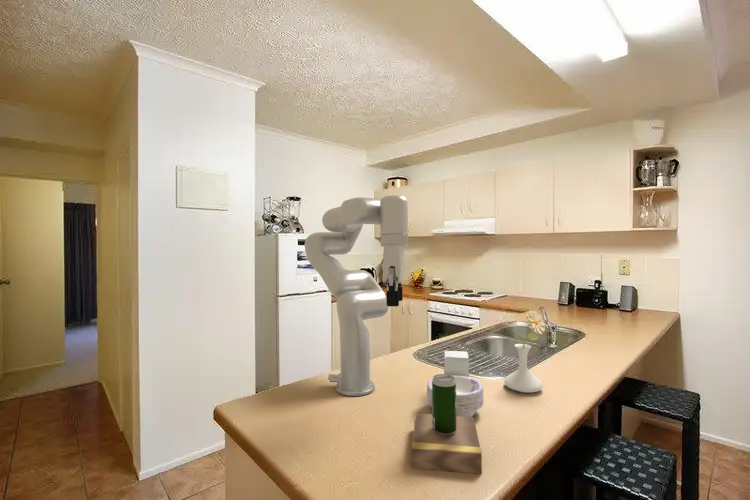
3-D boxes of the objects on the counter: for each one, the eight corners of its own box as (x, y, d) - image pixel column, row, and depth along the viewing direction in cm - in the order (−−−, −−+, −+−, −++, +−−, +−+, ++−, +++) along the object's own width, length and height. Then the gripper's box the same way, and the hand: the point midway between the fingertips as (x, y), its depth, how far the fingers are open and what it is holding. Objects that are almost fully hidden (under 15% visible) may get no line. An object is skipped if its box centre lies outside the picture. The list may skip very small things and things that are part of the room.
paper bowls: (424, 400, 107) (424, 373, 107) (475, 400, 107) (475, 373, 107) (430, 425, 92) (430, 394, 92) (490, 426, 91) (490, 394, 91)
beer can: (437, 438, 78) (437, 383, 78) (428, 426, 83) (428, 374, 83) (460, 435, 79) (460, 380, 79) (450, 423, 85) (450, 372, 85)
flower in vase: (517, 397, 108) (517, 314, 108) (497, 383, 119) (496, 308, 119) (555, 393, 111) (555, 312, 111) (532, 380, 122) (531, 306, 122)
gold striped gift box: (411, 467, 74) (411, 446, 74) (416, 429, 90) (416, 412, 90) (481, 474, 72) (481, 452, 72) (473, 433, 88) (473, 415, 88)
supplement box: (469, 400, 107) (469, 358, 106) (444, 398, 108) (443, 356, 108) (468, 390, 114) (467, 351, 114) (444, 389, 115) (444, 350, 115)
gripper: (385, 241, 108) (385, 298, 108) (375, 240, 91) (376, 308, 91) (410, 241, 107) (410, 299, 107) (405, 240, 90) (405, 308, 90)
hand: (394, 303), depth 99 cm, fingers open, 9 cm apart
